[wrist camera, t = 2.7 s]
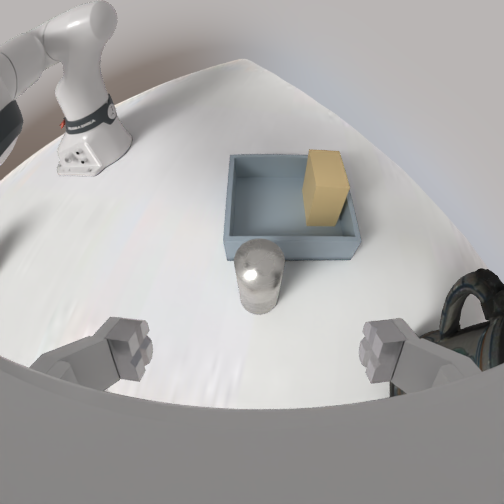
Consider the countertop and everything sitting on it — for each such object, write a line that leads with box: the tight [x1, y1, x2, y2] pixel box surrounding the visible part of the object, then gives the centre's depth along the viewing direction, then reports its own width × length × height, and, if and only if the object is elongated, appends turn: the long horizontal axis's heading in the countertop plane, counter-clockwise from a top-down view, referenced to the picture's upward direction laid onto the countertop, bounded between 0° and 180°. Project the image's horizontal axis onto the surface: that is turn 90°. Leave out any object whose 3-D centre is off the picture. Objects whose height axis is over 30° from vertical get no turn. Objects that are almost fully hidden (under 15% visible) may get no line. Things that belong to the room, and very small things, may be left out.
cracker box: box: [302, 149, 350, 227], centre depth 44 cm, size 5×8×10 cm, turn 179°
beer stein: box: [390, 268, 504, 397], centre depth 23 cm, size 16×19×25 cm
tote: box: [223, 154, 361, 261], centre depth 46 cm, size 20×18×6 cm
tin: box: [234, 238, 285, 315], centre depth 36 cm, size 6×6×12 cm
